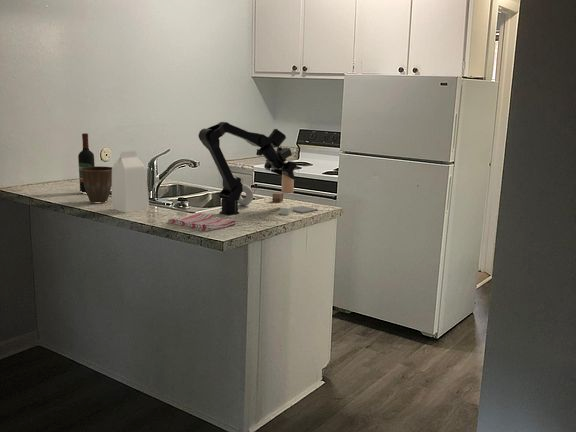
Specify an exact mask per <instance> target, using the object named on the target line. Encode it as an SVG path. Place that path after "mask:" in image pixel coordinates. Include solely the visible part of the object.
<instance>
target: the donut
mask: <svg viewBox="0 0 576 432" xmlns="http://www.w3.org/2000/svg"><path fill="white" fill-rule="evenodd" d="M242 184H243V186H242V187H243V191H242V193H243V192H244V193H245V198H243V197H242V194H241V195H240V198H239V200H237V202H238V205H240V206H244V207H246V206H248V205H250V204H251V203H252V202H253V200H254V192H253V190H252V189H251V187H250V186H249V185H248V184H244V183H242Z"/></svg>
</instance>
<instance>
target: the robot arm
mask: <svg viewBox="0 0 576 432" xmlns="http://www.w3.org/2000/svg"><path fill="white" fill-rule="evenodd" d="M226 133H227V134H230V135H232V136H235V137H237V138H240V139H242V140H244V141H245V142H247V143H248V144H249V145H251V146H253V147H257V149H256V156H259V157H262V156H263V157H264V159H265V164H263V165H264V169H265V170H266V171H270V172H271V173H274V174H276V175H278V176H281V177H282V172H283V174H284V175H286V176H287V177H289V178H291V179H293V180H294V181H295V179H296V177H295V173H294V174H293V170H294V171H295V169H296V168H297V166H298V163H296V162H295V161H291V160H287V158H289V157H291V156H293V154H292V150H291V148H290V147H289V148H288V147H281V145H282V144H283V143H284V141H286V139H287V136H286V135H285V134H284V133H283V132H282V131H280V130H279V129H278V128H273V130H272V131H271V133H270V134H269V135H268V136H267V135H265V134H263V133H259V132H253V131H248V130H247V129H244V128H241V127H239V126H237V125H233V124H231V123H230V122H227V121H220V122H217V124H214V125H212V126H209V127H207V128H202V129H200V130H199V133H198V139H199V141H200V142H201V143H202V146H204V147H205V148H206V149H207V150H208V151H209V153H210V156H211V157H212V159H213V162H214V164H215V166H216V168H217V170H218V172H219V175H220V176H221V178H222V187H223V188H222V190H221V191H220V192H219V193H218V196H219V199H221V211H219V214H223V215H227V216H230V215H237V214H240V211H239V204H238V202H237V200H239V198H240V195H241V196H242V193H243V192H242V191H243V187H242V186H243V184H244V183H242V181H241V178H240V177H238V176H235V175H233V172H232V170H231V169H230V167H229V164H228V162H227V160H226V158H225V155H224V154H223V151H222V150H221V147H220V142H221V141H220V138H222V137H223V136H224V135H225V134H226ZM275 148H276V149H275ZM284 162H287V163H284Z"/></svg>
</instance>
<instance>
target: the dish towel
mask: <svg viewBox="0 0 576 432" xmlns="http://www.w3.org/2000/svg"><path fill="white" fill-rule="evenodd" d="M167 222H169V224H172V223H173V225H178V226H181V227H182V226H183V227H185V228H189V229H193V230H195V231H196V230H197V231H201V232H209V231H213V230H214V229H215V230H219V229H223V228H226V227H231V226H235V225H236V223H237V220H236V219H230V218H222V217H219V216H213V215H211V214H208V213H204V212H197V213H195V214H194V213H193V214H189V215H184V216H181V217H177V218H169V219H167ZM215 230H214V231H215Z"/></svg>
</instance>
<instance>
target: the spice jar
mask: <svg viewBox="0 0 576 432" xmlns="http://www.w3.org/2000/svg"><path fill="white" fill-rule="evenodd" d="M287 162H288V161H285V162H284V163H287ZM293 174H294V175H295V169H294V170H293ZM294 183H295V179H294V180H293V179H291V178H289V177H287V176H286V175H284V174H283V172H282V176H281V193H283V194H293V193H294V192H295V191H294V190H295V186H294Z"/></svg>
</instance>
